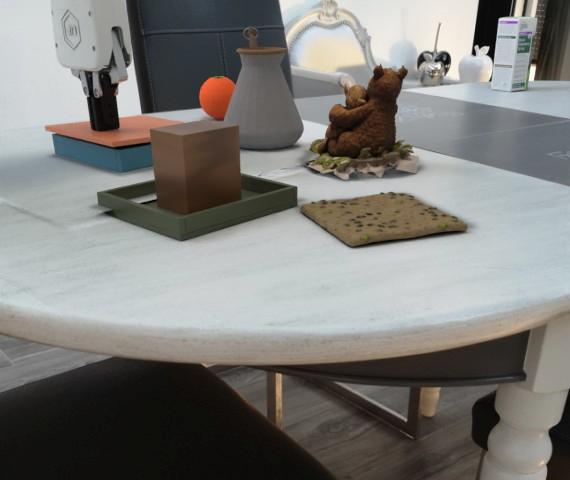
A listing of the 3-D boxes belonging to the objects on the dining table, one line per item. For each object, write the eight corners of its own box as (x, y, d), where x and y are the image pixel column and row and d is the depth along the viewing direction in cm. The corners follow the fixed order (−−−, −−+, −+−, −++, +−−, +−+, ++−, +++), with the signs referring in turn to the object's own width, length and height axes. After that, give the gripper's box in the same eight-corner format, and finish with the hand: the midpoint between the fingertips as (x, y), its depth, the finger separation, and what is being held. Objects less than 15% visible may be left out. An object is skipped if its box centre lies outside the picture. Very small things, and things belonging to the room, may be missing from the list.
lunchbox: (122, 179, 79) (119, 150, 77) (55, 159, 88) (51, 133, 86) (216, 159, 88) (214, 133, 86) (146, 143, 97) (144, 119, 96)
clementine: (204, 114, 120) (202, 72, 116) (243, 114, 119) (241, 72, 116) (197, 122, 113) (194, 77, 109) (238, 122, 112) (236, 77, 109)
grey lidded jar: (310, 156, 89) (311, 32, 82) (224, 159, 88) (217, 33, 80) (288, 128, 107) (288, 24, 100) (217, 130, 106) (212, 25, 99)
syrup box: (510, 92, 144) (521, 17, 137) (489, 89, 148) (498, 16, 141) (527, 90, 146) (539, 16, 140) (506, 87, 151) (516, 16, 144)
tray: (181, 241, 59) (179, 219, 58) (99, 211, 67) (96, 192, 66) (297, 205, 68) (297, 186, 67) (213, 183, 76) (212, 166, 75)
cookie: (297, 210, 66) (297, 200, 66) (403, 197, 70) (404, 188, 70) (349, 247, 57) (350, 236, 56) (470, 230, 60) (471, 220, 60)
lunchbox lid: (112, 147, 76) (112, 141, 76) (45, 130, 86) (44, 125, 85) (214, 132, 86) (214, 127, 86) (143, 119, 96) (143, 115, 95)
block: (188, 216, 64) (182, 135, 60) (157, 206, 67) (149, 128, 63) (242, 201, 68) (239, 125, 64) (210, 192, 71) (205, 119, 68)
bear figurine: (385, 150, 92) (391, 54, 86) (434, 175, 79) (445, 64, 73) (290, 156, 89) (290, 57, 83) (325, 183, 76) (328, 68, 70)
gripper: (20, -39, 77) (48, 126, 86) (90, -44, 68) (113, 141, 76) (77, -38, 81) (99, 119, 90) (150, -42, 72) (166, 132, 81)
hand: (105, 129), depth 83 cm, fingers closed
